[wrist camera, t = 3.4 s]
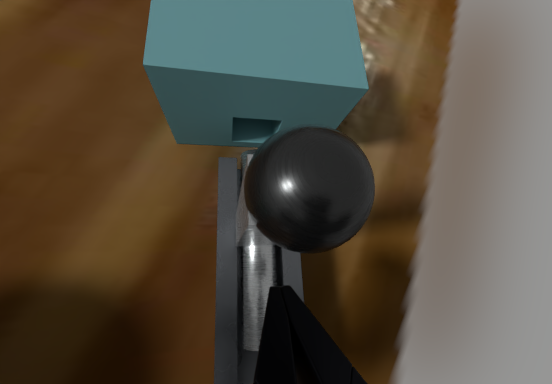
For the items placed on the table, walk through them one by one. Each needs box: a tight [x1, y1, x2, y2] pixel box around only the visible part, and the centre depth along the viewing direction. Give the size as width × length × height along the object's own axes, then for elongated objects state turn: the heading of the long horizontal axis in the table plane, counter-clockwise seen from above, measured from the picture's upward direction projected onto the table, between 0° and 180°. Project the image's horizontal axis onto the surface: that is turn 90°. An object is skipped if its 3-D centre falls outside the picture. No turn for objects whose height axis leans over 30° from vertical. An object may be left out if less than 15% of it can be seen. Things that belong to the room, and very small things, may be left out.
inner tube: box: [236, 124, 375, 351], centre depth 10 cm, size 12×3×13 cm, turn 3°
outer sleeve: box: [214, 157, 304, 384], centre depth 16 cm, size 14×5×3 cm, turn 3°
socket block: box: [143, 0, 369, 147], centre depth 17 cm, size 8×12×8 cm, turn 93°
